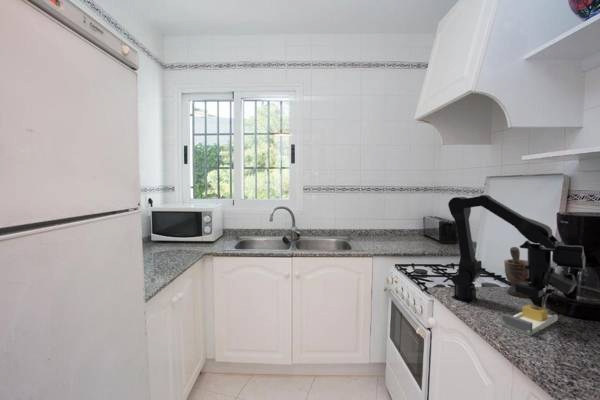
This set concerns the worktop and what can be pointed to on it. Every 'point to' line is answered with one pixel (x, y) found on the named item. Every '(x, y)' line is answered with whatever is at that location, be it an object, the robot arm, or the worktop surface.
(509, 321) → the rail
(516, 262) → the mortar and pestle
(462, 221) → the robot arm
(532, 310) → the carriage
